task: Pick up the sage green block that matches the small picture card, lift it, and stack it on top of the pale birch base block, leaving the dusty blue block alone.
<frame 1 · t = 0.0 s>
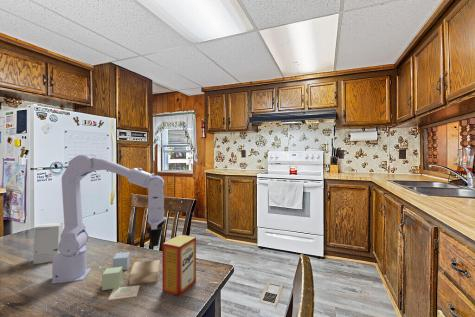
hand: (156, 242, 90), 10 cm above the table, tool pointing down, fingers open, 7 cm apart
sage green block: (112, 285, 78), on the table, tilted 5°, touching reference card
dusty blue block: (121, 268, 90), on the table
birch base block: (145, 277, 84), on the table
skincare box: (48, 260, 96), on the table
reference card: (124, 293, 74), on the table
baking soda box: (179, 286, 78), on the table
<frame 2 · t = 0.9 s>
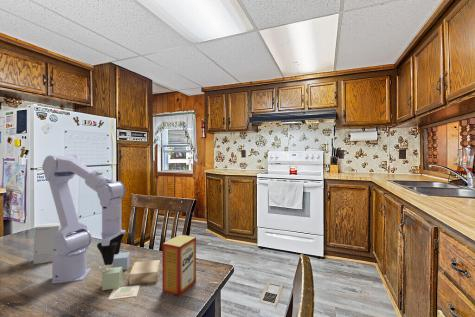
hand: (112, 259, 77), 9 cm above the table, tool pointing down, fingers open, 7 cm apart
nothing on the table moved.
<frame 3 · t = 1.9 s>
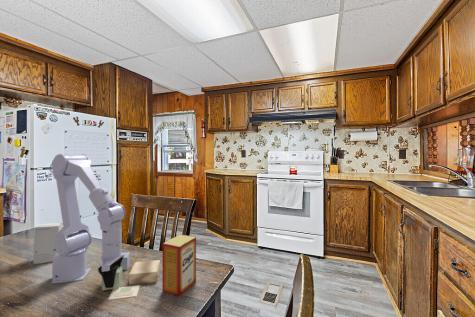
hand: (112, 282, 78), 1 cm above the table, tool pointing down, fingers open, 5 cm apart
sage green block: (112, 285, 78), on the table, tilted 5°, touching gripper, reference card
everything else where it was.
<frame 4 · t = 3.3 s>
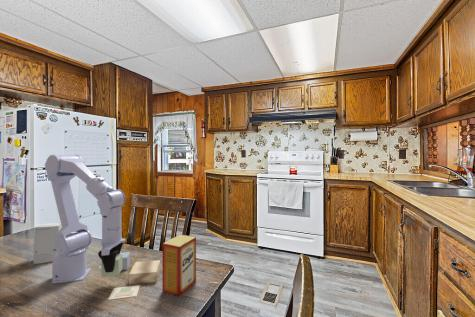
hand: (111, 267, 77), 6 cm above the table, tool pointing down, fingers closed on sage green block, 5 cm apart
sage green block: (112, 272, 78), point 5 cm above the table, touching gripper
everything else where it was.
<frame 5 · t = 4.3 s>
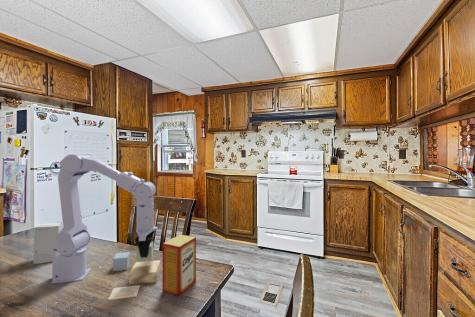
hand: (145, 253, 84), 8 cm above the table, tool pointing down, fingers closed on sage green block, 5 cm apart
sage green block: (145, 258, 84), point 7 cm above the table, touching gripper
everything else where it was.
when the fingers open (7 cm above the table, at t = 5.6 s): sage green block drops 1 cm, resting on birch base block.
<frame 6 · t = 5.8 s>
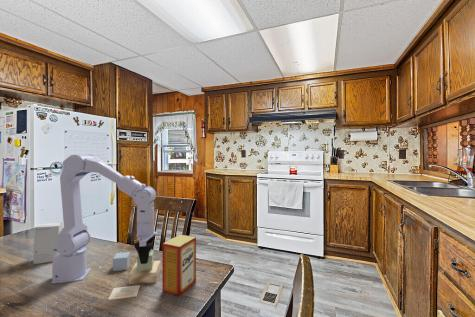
hand: (145, 258, 84), 7 cm above the table, tool pointing down, fingers open, 7 cm apart
sage green block: (145, 266, 84), point 4 cm above the table, touching birch base block
birch base block: (145, 277, 84), on the table, touching sage green block
everything else where it was.
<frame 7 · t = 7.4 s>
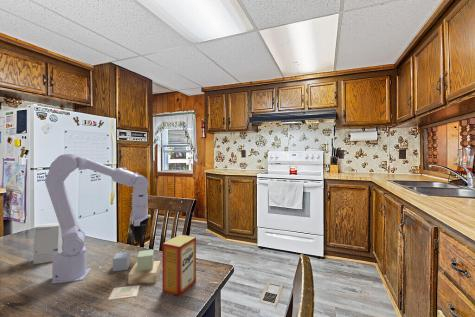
hand: (140, 238, 95), 10 cm above the table, tool pointing down, fingers open, 7 cm apart
nothing on the table moved.
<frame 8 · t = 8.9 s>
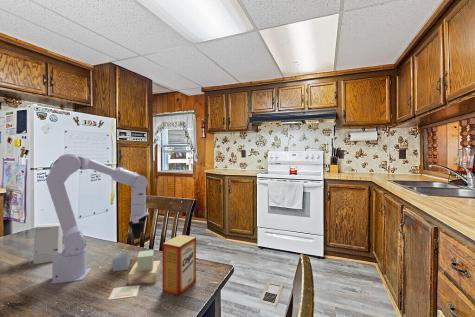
hand: (138, 235, 98), 10 cm above the table, tool pointing down, fingers open, 7 cm apart
nothing on the table moved.
at the end: sage green block 0.2 cm off-centre on the birch base block, point 4.0 cm above the birch base block's base; sage green block tilted 0°; the gripper is holding nothing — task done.
